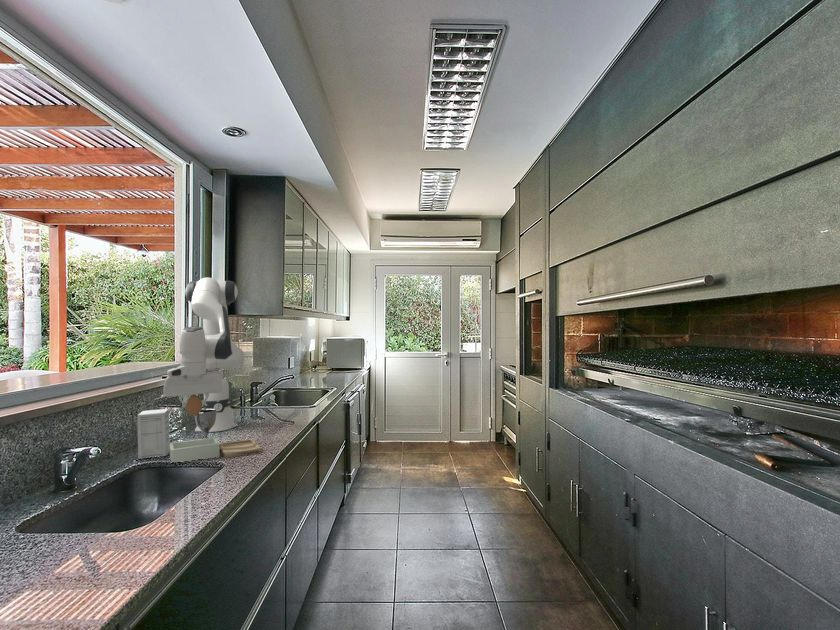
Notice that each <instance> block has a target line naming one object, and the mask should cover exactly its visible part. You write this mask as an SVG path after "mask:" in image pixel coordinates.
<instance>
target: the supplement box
mask: <svg viewBox="0 0 840 630" xmlns="http://www.w3.org/2000/svg"><path fill="white" fill-rule="evenodd" d="M169 409H170V408H161V409H149V410H142V411H141V412H140V413H138V414H137V418H136V419H137V458H145V457H155V456H156V457H157V456H166V455H167V456H168V454H170V443H171V442H170V441H171V440H170V439H171V438H170V410H169ZM167 456H166V457H167Z"/></svg>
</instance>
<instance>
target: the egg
mask: <svg viewBox="0 0 840 630" xmlns="http://www.w3.org/2000/svg"><path fill="white" fill-rule="evenodd" d="M201 401H202V400H201V399H200V397H199V396H198V394H194V395H189V397H188V399H187V400H186V403H187V405H186V406H187V407H185V408H186V411H187V414H188V415H190V416H193V417H195V416H196V415H197V414H198V413H199V412H200V411H201V410H202V408H203V406H202V404H201Z"/></svg>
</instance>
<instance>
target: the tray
mask: <svg viewBox="0 0 840 630" xmlns="http://www.w3.org/2000/svg"><path fill="white" fill-rule="evenodd" d="M219 451H220V452H221V454H222V456H223V458H224V459H228V458H235V457H241V455H243V456H247V455H246V454H249V455H254V454H253V453H256V454H260V452H261V453H262V447H260V445H259V444H258V443H257V442H256V441H255V440H254V439H253V438H252V439H243V440H237V441H231V442H230V441H229V442H222V443H219Z"/></svg>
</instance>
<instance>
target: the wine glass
mask: <svg viewBox="0 0 840 630" xmlns="http://www.w3.org/2000/svg"><path fill="white" fill-rule="evenodd" d="M194 420H195V421H194V422H195V424H196V427H197V426H198V428H199V429H200V430H202V431H201V432H202V434H203V435H204V436H203V437H204V439H205V438H208V436H209V435H208V434H209V433H210V432H209V431H210V429H211V428H212V427H213V426H214V424H215V421H216V409H201V411H200V412H199V413H198V414H197V415H196V416H194Z"/></svg>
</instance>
